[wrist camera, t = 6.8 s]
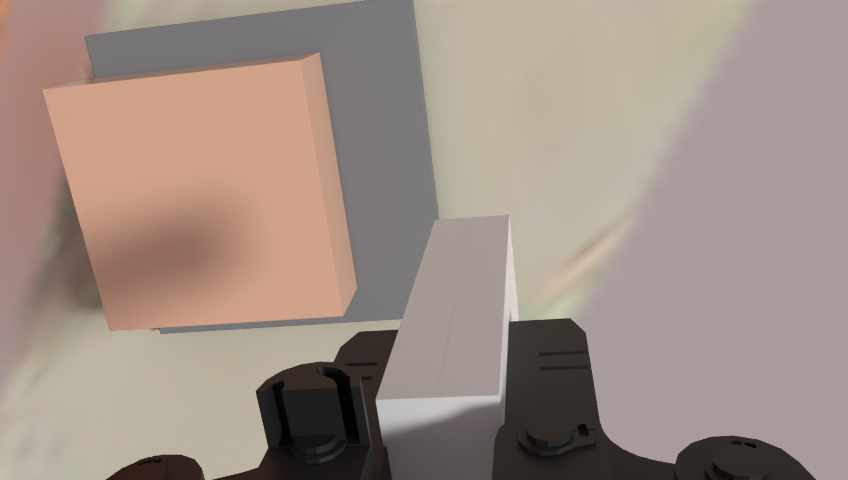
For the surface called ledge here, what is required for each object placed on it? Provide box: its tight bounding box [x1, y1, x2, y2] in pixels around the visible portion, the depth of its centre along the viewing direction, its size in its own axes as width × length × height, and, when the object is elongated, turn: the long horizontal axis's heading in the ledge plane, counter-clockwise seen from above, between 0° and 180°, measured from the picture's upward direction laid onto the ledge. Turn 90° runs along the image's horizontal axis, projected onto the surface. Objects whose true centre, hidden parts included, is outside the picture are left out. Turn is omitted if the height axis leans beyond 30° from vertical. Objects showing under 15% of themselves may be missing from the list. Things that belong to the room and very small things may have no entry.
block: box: [43, 52, 357, 331], centre depth 27 cm, size 3×9×9 cm
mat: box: [84, 0, 439, 334], centre depth 29 cm, size 12×12×1 cm
